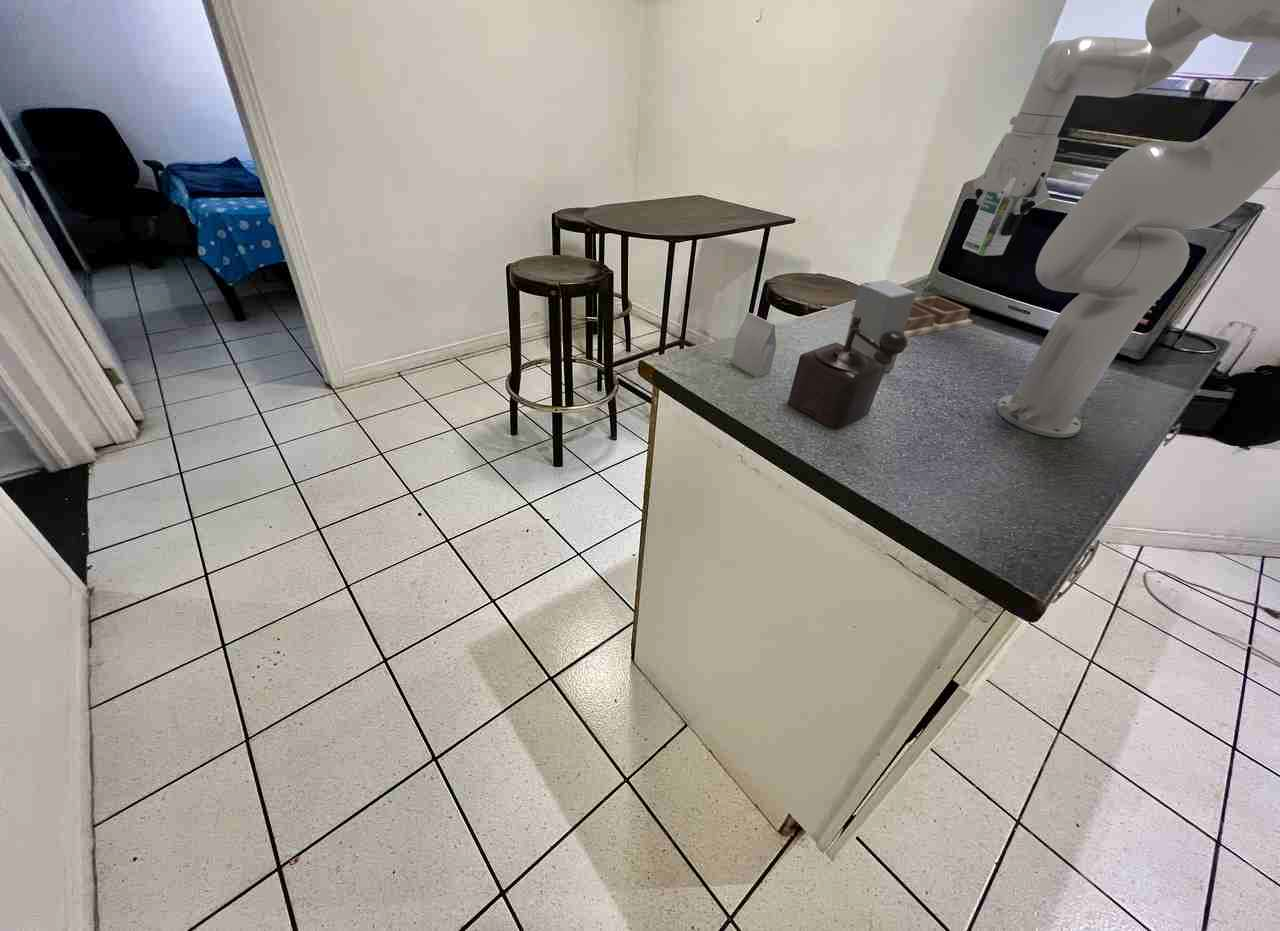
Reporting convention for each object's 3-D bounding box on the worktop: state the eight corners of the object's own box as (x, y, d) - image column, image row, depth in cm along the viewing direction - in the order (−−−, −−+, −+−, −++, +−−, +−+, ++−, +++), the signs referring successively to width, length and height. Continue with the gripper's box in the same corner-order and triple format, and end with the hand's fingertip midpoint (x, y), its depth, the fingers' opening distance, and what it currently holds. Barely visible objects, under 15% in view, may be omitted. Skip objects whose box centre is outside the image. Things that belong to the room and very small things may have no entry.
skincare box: (892, 372, 103) (923, 292, 94) (863, 376, 101) (892, 296, 91) (863, 354, 110) (889, 277, 100) (835, 357, 107) (860, 280, 98)
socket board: (902, 338, 117) (907, 323, 115) (850, 312, 129) (854, 298, 126) (971, 324, 127) (977, 310, 125) (917, 301, 138) (922, 288, 136)
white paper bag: (756, 377, 98) (767, 327, 92) (731, 363, 103) (740, 313, 96) (769, 373, 100) (781, 323, 94) (745, 359, 104) (754, 310, 98)
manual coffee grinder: (782, 404, 91) (808, 303, 80) (820, 387, 97) (850, 291, 86) (860, 448, 81) (901, 340, 71) (897, 426, 87) (941, 323, 76)
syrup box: (960, 248, 111) (992, 171, 102) (982, 247, 113) (1016, 171, 104) (981, 256, 107) (1016, 176, 98) (1003, 255, 108) (1040, 176, 100)
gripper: (982, 121, 101) (943, 221, 112) (1071, 132, 89) (1018, 243, 100) (1007, 122, 104) (967, 219, 115) (1097, 133, 91) (1043, 241, 102)
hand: (991, 229), depth 107 cm, fingers closed on syrup box, 6 cm apart
